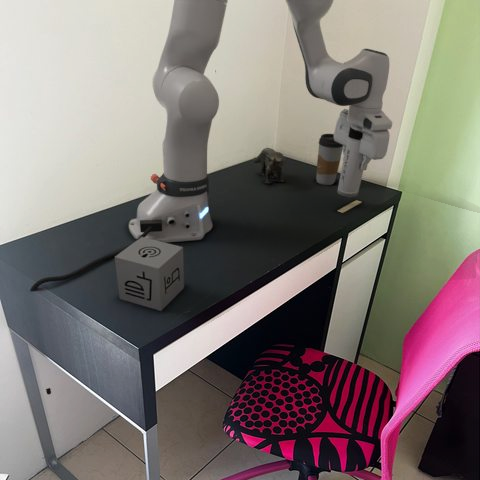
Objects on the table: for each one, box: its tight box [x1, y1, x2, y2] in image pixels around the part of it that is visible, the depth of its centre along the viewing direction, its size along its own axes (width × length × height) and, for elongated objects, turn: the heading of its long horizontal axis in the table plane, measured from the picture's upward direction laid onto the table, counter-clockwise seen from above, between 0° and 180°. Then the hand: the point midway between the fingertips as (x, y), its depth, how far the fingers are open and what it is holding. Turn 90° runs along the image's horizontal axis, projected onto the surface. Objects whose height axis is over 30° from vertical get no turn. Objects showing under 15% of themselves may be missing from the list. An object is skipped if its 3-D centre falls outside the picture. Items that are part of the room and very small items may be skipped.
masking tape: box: [337, 199, 362, 214], centre depth 148 cm, size 12×2×1 cm, turn 140°
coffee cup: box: [316, 133, 343, 186], centre depth 161 cm, size 8×8×15 cm
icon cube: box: [114, 237, 185, 312], centre depth 101 cm, size 10×10×10 cm
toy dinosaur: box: [252, 147, 286, 184], centre depth 162 cm, size 22×8×11 cm, turn 10°
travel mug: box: [336, 126, 364, 198], centre depth 141 cm, size 6×7×20 cm
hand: (354, 165), depth 141 cm, fingers closed on travel mug, 6 cm apart
